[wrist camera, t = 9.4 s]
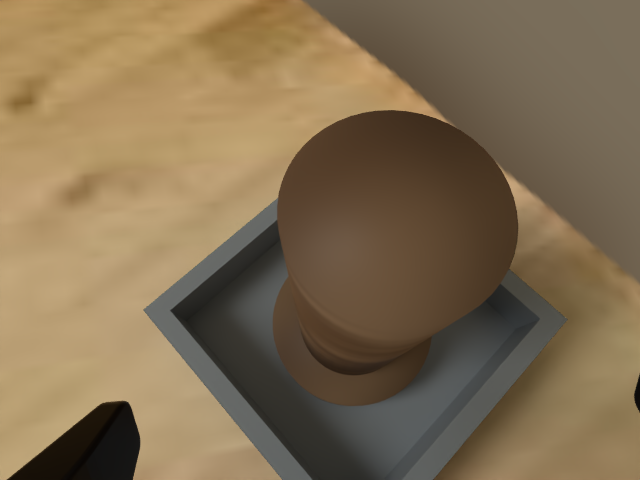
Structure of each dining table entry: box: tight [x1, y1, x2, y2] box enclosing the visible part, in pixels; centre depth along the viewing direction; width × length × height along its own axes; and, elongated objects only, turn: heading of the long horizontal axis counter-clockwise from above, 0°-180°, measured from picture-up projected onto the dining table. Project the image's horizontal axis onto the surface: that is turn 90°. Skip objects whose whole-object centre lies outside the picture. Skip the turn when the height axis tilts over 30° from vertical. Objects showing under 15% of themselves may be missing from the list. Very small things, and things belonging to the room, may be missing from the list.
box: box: [144, 198, 568, 480], centre depth 20 cm, size 13×13×3 cm
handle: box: [273, 110, 518, 406], centre depth 14 cm, size 7×7×13 cm
